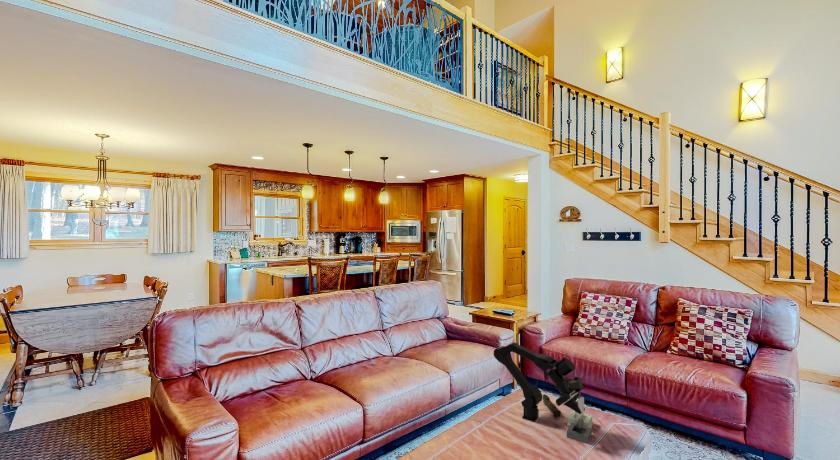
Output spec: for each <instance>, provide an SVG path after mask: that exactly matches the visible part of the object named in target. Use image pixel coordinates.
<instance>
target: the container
mask: <svg viewBox="0 0 840 460" xmlns="http://www.w3.org/2000/svg"><path fill="white" fill-rule="evenodd" d="M571 423H574V424H575V411H574V410H572V411H571V412H570V414H569V416H568V419H567V423H566V427H568V426H570V424H571ZM593 425H594V421H593V415H592V414H587V413H584V426H585V427H588V428H593Z"/></svg>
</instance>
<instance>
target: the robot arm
mask: <svg viewBox="0 0 840 460" xmlns="http://www.w3.org/2000/svg"><path fill="white" fill-rule="evenodd" d="M512 353H514V354H517V355H518V356H520V357H522V358H525V359H526V360H529V361H530V362H532V363H533V364H534V365H535V366H536V367H537V368H538V369H540V370H541V371H543V372H544V374H543V375H544V376H543V378H547V377H548V378H549V379H550V381H551V382H552V383H553V384H554V388H555V390H557V389H558V391H559V393H560V396H559V397H558V398H556V399H555V404H556V406H558V407H560V406H562V405H563V406H565V407H567V408H569V409H571V410H572V411H576V412H577V413H579V414H581V413H582V412H581V410H580V409H579V407H578V406H577V404H576V402H575V397H576V396H581V393H582V390H583V389H584V385H583V382H584V381H583V380H582V379H581V378H580V376H575V377H573V379H572V380H570V379H569V378H566V377H567V376H569V375H570V374H571V373H573V371H575V370H576V365H575V364H574V362H573V361H571V360H570V359H568V358H567V357H566V356H563V358H561V359H560V361H559V360H556V359H554V358H553V357H552V356H550V355H548V354H544V353H538V352H536V351H535V352H534V351H533V350H530V349H528V348H527V347H524V346H523V345H520V344H518V342H511V343H509V344H508V345H505V346H504V345H502V346H499V347H497V348H494V350H493V357H494V358H495V359H496V360H497V362H499V363H500V364H502V365H503V366H505V368H506V369H507V371H508V372H509V373H510V375H511V376H512V378H513V379H514V380H515V382H516V383H517V385H518V386H519V387H520V388H521V390H522V394H523V397H524V399H523V400H521V402H520V403H521V406H522V407H523V410H522V411H523V414H522V416H521V418H522V419H525V420H527V421H532V422H536V421H537V420H538V419H539V417H540V416H539V415H540V414H539V413H540V411H539V410H540V409H539V408H538V407H539V405H540V403H541V402H543V401H542V400H543V393H542V390H540V389H539V387H538V385H536V384H535V385H533V384H531V383H530V382H529V380H528V379H527V378H526V377H525V375H524V374H523V373H522V371H521V370H520V368H519V367H518V366H517V364H516V363H515V362H514V360H513V357H512ZM585 410H586V408H585V407H584V412H585Z"/></svg>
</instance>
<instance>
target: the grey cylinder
mask: <svg viewBox="0 0 840 460" xmlns="http://www.w3.org/2000/svg"><path fill="white" fill-rule="evenodd" d="M575 402H576V404H577V406H578V407H579V409H580V410H581V412H582V413H581V414H579V413H577V412H576V411H575V426H576V427H578V428H583V427H584V414H585V411H584V408H585V397H584V396H581V395H580V396H576V397H575Z"/></svg>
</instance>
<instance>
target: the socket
mask: <svg viewBox="0 0 840 460" xmlns="http://www.w3.org/2000/svg"><path fill="white" fill-rule="evenodd" d="M592 434H593V427H591V428H588V427H585V426H584V427H583V428H578V427H576V426H575V424H574V423H571V424H570V426H569V427H568V428H567V430H566V438H567V439H570V440H574V441H576V442H580V443H583V444H587V445H588V444H589V442H590V440H591V437H592V436H593V435H592Z"/></svg>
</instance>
